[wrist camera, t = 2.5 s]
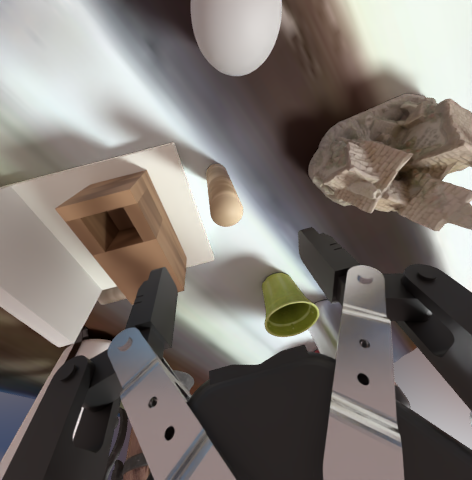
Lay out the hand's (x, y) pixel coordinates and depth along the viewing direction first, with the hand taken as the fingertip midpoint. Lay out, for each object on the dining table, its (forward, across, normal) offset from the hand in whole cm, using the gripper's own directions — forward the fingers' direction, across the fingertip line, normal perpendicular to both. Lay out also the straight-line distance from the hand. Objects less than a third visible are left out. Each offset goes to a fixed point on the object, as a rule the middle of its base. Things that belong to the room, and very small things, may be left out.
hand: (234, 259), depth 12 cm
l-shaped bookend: (+18, +14, +4) cm, 23 cm away
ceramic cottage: (+19, -22, +2) cm, 29 cm away
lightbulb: (+18, -4, -12) cm, 22 cm away
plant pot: (+18, -6, +24) cm, 31 cm away
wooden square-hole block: (+17, +11, +4) cm, 21 cm away
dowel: (+18, 0, 0) cm, 18 cm away
